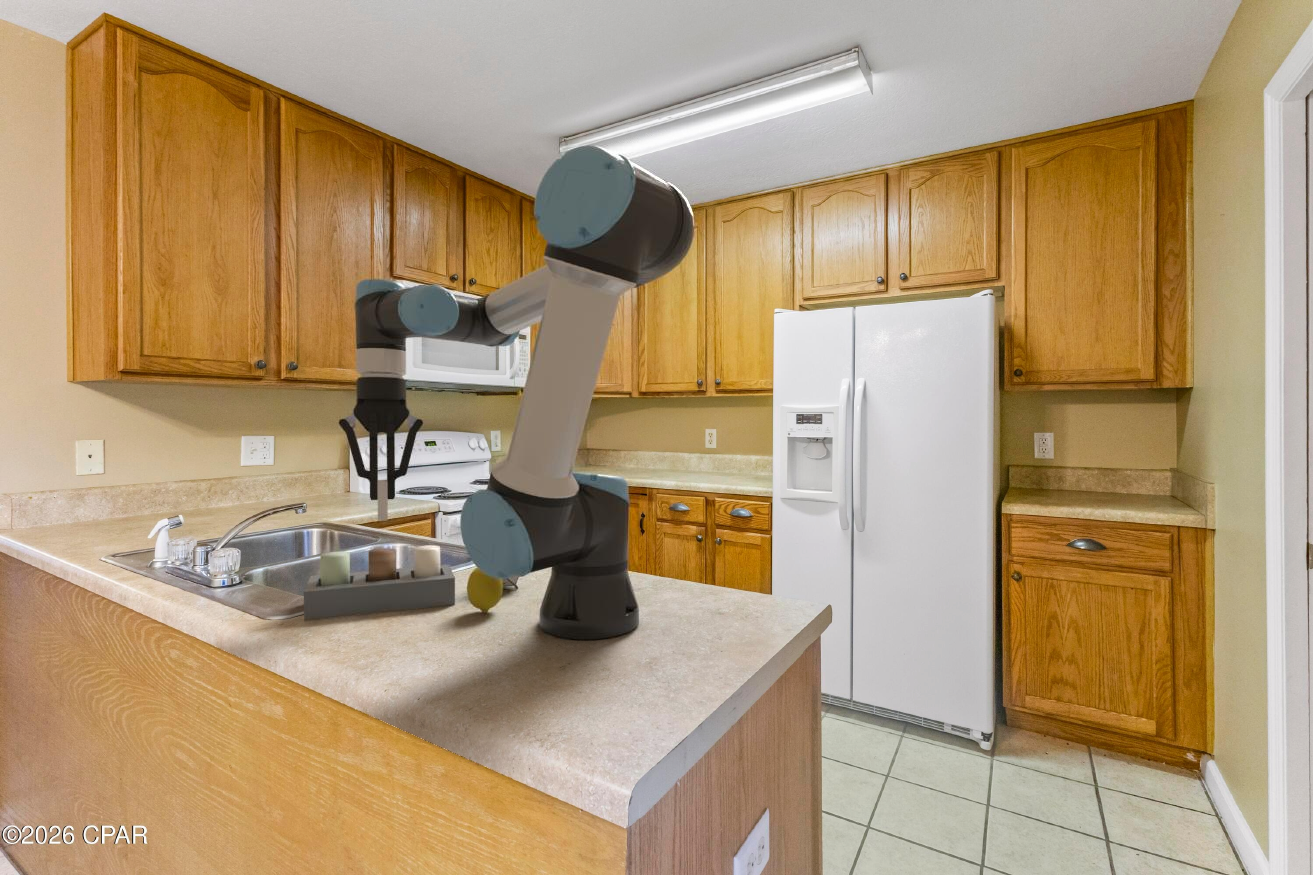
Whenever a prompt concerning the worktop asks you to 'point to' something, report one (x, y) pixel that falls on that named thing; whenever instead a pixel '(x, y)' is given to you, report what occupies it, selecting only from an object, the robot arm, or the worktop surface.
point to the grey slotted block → (378, 594)
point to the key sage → (335, 568)
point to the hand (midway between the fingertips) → (382, 519)
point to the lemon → (483, 590)
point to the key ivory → (426, 561)
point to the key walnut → (382, 564)
